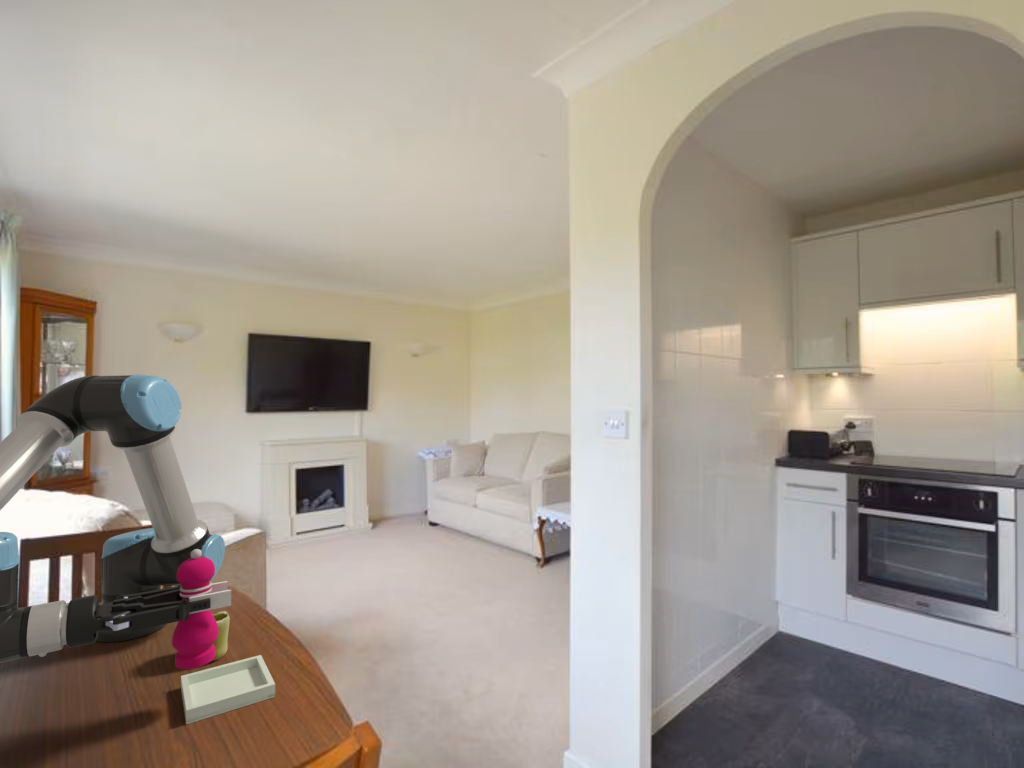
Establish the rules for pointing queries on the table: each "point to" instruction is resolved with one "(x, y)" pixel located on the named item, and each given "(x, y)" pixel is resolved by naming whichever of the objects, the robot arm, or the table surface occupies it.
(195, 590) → the pepper mill
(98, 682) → the table surface
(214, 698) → the tray
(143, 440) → the robot arm
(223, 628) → the mug
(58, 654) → the table surface
